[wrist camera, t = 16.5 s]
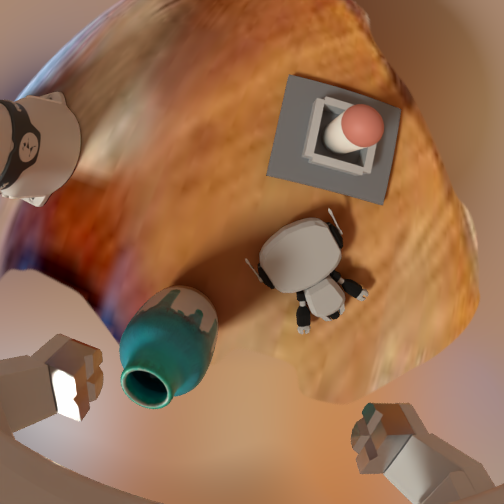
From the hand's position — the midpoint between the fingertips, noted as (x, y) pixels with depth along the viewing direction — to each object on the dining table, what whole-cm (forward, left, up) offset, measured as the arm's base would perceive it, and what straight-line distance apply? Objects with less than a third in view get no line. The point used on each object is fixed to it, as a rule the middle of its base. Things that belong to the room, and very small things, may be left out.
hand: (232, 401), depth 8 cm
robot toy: (+9, -4, -34) cm, 36 cm away
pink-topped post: (+8, +14, -33) cm, 36 cm away
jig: (+8, +14, -34) cm, 38 cm away
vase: (-7, -14, -34) cm, 38 cm away
